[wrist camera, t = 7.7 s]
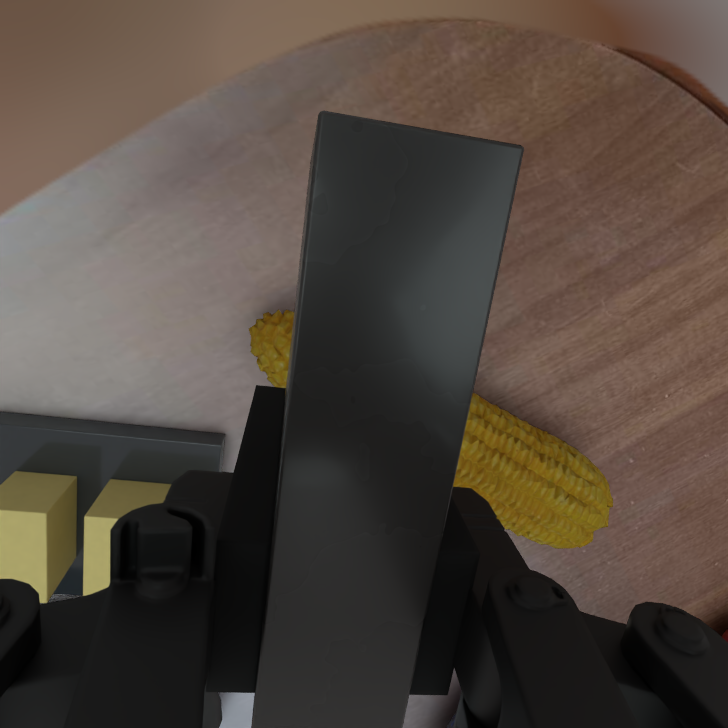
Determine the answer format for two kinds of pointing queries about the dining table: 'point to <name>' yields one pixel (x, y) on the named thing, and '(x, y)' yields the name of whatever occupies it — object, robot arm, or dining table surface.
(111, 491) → the butter block
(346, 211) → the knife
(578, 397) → the dining table surface
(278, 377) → the food
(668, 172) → the dining table surface
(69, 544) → the butter pat
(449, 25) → the dining table surface
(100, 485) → the board
